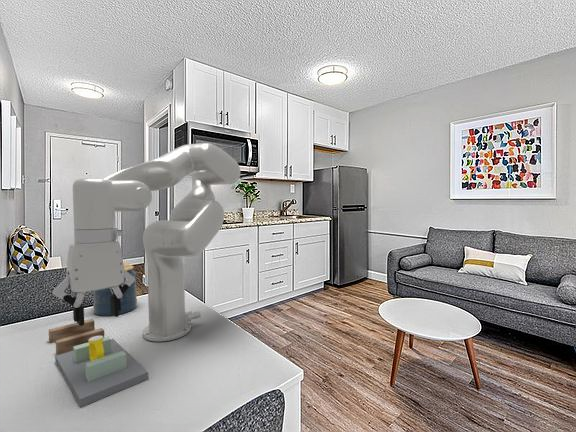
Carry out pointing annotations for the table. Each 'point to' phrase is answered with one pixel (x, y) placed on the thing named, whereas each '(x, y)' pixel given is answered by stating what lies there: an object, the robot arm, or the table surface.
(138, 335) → the table surface
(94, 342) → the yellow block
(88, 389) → the dock
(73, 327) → the holder
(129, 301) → the canister
